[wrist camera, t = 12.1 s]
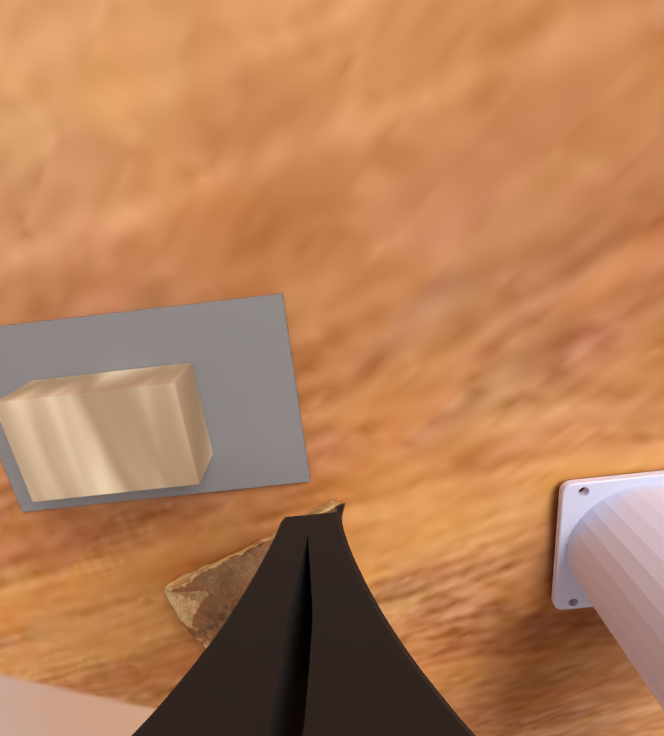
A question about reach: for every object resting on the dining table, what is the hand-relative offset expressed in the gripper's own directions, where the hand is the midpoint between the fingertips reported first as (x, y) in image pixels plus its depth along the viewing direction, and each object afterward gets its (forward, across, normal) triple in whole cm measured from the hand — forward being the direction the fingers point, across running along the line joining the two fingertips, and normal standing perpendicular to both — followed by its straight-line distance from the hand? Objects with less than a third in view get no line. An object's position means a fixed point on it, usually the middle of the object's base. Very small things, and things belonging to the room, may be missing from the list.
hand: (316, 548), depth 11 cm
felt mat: (+10, +8, 0) cm, 13 cm away
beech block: (+8, +5, 0) cm, 10 cm away
